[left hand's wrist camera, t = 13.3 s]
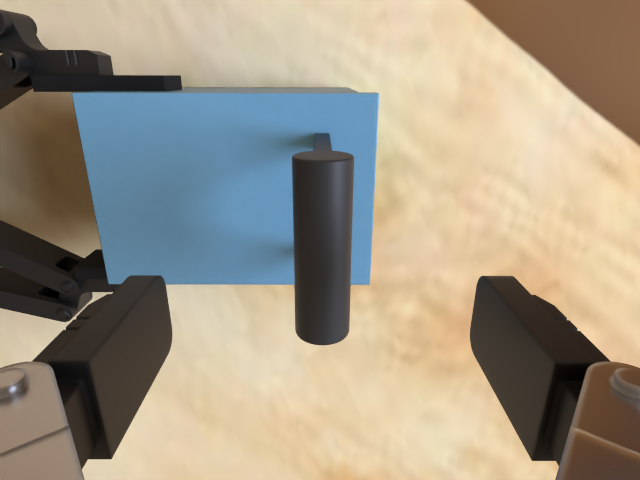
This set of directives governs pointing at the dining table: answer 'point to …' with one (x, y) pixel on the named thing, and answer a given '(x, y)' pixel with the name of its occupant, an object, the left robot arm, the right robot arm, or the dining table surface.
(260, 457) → the dining table surface
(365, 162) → the lid
